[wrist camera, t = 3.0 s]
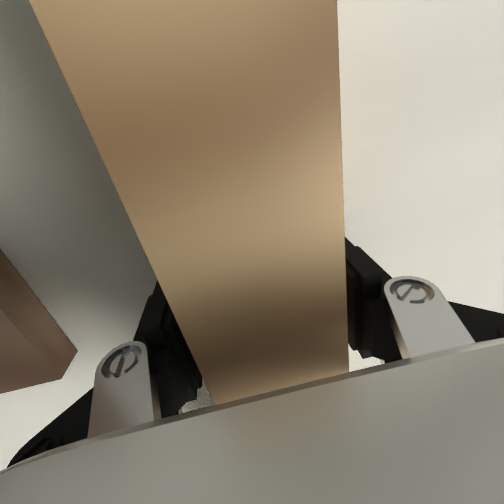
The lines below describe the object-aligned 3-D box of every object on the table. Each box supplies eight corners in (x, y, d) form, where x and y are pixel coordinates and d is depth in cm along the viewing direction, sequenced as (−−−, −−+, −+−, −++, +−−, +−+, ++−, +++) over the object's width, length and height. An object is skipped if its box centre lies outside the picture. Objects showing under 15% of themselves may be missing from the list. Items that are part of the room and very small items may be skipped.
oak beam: (317, 400, 17) (354, 505, 12) (255, 416, 17) (269, 526, 12) (245, -143, 6) (322, -788, 2) (74, -106, 6) (-293, -670, 2)
